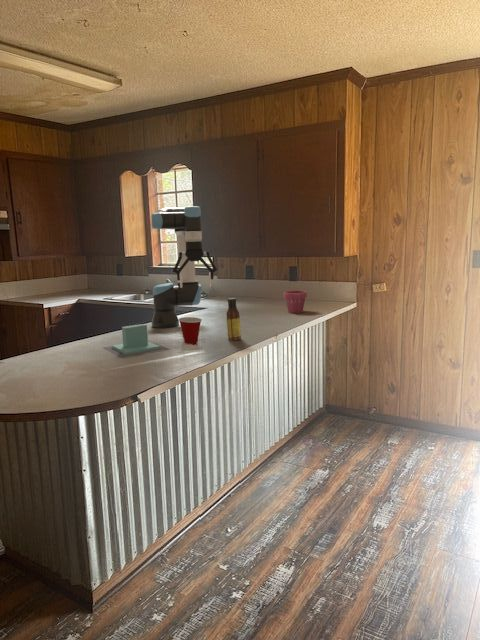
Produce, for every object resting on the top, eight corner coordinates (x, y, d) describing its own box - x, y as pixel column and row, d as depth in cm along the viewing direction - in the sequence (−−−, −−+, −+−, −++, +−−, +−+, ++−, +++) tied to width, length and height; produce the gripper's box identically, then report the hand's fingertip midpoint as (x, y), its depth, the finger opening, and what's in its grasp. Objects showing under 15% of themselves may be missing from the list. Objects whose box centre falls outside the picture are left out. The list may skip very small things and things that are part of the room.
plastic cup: (199, 346, 221) (198, 320, 219) (176, 346, 223) (175, 320, 221) (205, 341, 232) (204, 316, 229) (184, 341, 234) (182, 316, 232)
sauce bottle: (242, 338, 236) (241, 297, 232) (238, 341, 230) (237, 299, 226) (230, 337, 238) (228, 297, 234) (225, 340, 232) (224, 299, 229)
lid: (112, 348, 220) (110, 325, 218) (144, 342, 229) (143, 321, 227) (126, 354, 207) (124, 331, 205) (160, 348, 216) (158, 326, 214)
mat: (102, 349, 221) (102, 347, 221) (147, 342, 234) (147, 340, 234) (123, 359, 202) (122, 357, 202) (170, 351, 215) (170, 349, 215)
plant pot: (282, 310, 314) (281, 290, 311) (303, 309, 315) (303, 289, 313) (286, 314, 300) (286, 293, 297) (309, 313, 301) (309, 292, 299)
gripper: (165, 241, 221) (167, 288, 224) (220, 240, 220) (222, 287, 224) (167, 241, 228) (170, 286, 232) (221, 240, 228) (222, 285, 232)
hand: (195, 287), depth 228 cm, fingers open, 13 cm apart
